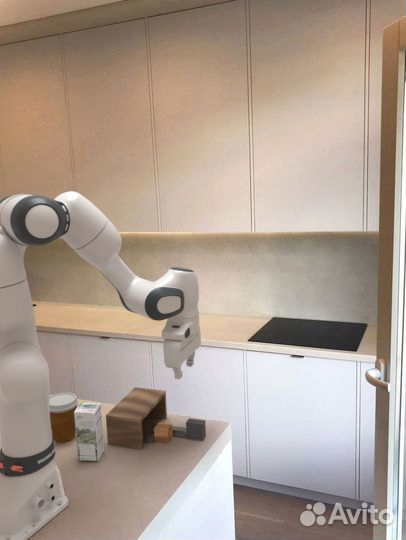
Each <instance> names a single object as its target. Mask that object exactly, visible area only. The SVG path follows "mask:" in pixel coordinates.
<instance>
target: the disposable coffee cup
mask: <svg viewBox="0 0 406 540" xmlns="http://www.w3.org/2000/svg"><path fill="white" fill-rule="evenodd" d="M78 406H79V398H78V397H77V395H76V394H75V393H73V392H60V393H58V392H57V393H55V394H53V395H50V402H49V410H50V422H51V432H52V437H53V438H54V442H56V443H66V442H69V441H72V440H73V439H74V438H76V427H75V417H74V412H75V410H76V409H77V407H78Z"/></svg>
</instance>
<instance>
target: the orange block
mask: <svg viewBox="0 0 406 540" xmlns="http://www.w3.org/2000/svg"><path fill="white" fill-rule="evenodd" d="M156 424H157V426H156V427H155V428H154V439H155V441H154V442H156V443H163V444H168V443H169V442H170V440H171V439H172V438H173V437H174V436H173V433H172V426H173V423H170V422H169V423H168V422H163V421H161V422H160V421H159V422H158V423H156Z"/></svg>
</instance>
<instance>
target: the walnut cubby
mask: <svg viewBox="0 0 406 540" xmlns="http://www.w3.org/2000/svg"><path fill="white" fill-rule="evenodd" d="M167 414H168V413H167V391H166V390H161V389H153V388H145V387H144V388H143V387H134V388H133V389H132V390H130V391H129V392H128V393H127V394H126V395H125V396H124V397H123V398H122V399H121V400H120V401H119V402H118V403H117V404H115V406H114V407H113V408H112V409H111V410H109V411H108V412H107V413H106V414H105V421H106V423H105V424H106V434H107V435H106V437H107V445H108V446H109V445H110V446H115V447H124V448H129V449H136V450H143V449H144V440H143V439H144V438H143V421H144V420H145V418H146V417H147V418H154V419H155V418H156V419H162V420H163V419H165V420H167V418H168V415H167Z"/></svg>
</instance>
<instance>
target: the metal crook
mask: <svg viewBox="0 0 406 540" xmlns="http://www.w3.org/2000/svg"><path fill="white" fill-rule="evenodd" d="M157 424H158V423H153V425H152V426H151V427H150V429H149V430H148V431H147V432H146V433H145V436H146V439H145V440H146V443H151V444H154V442H156V441H155V439H154V428H155V427H156V426H157ZM206 432H207V430H206V420H205V419H198V418H190V417H188V419H187V420H186V422H185V427H182V426H174V425H172V433H173V436H172V437H177V438H178V437H179V438H185V439H188V440H189V439H190V440H194V441H195V440H196V441H202V442H203V441H204V440H205V438H206V437H207V435H206V434H207V433H206Z"/></svg>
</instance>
